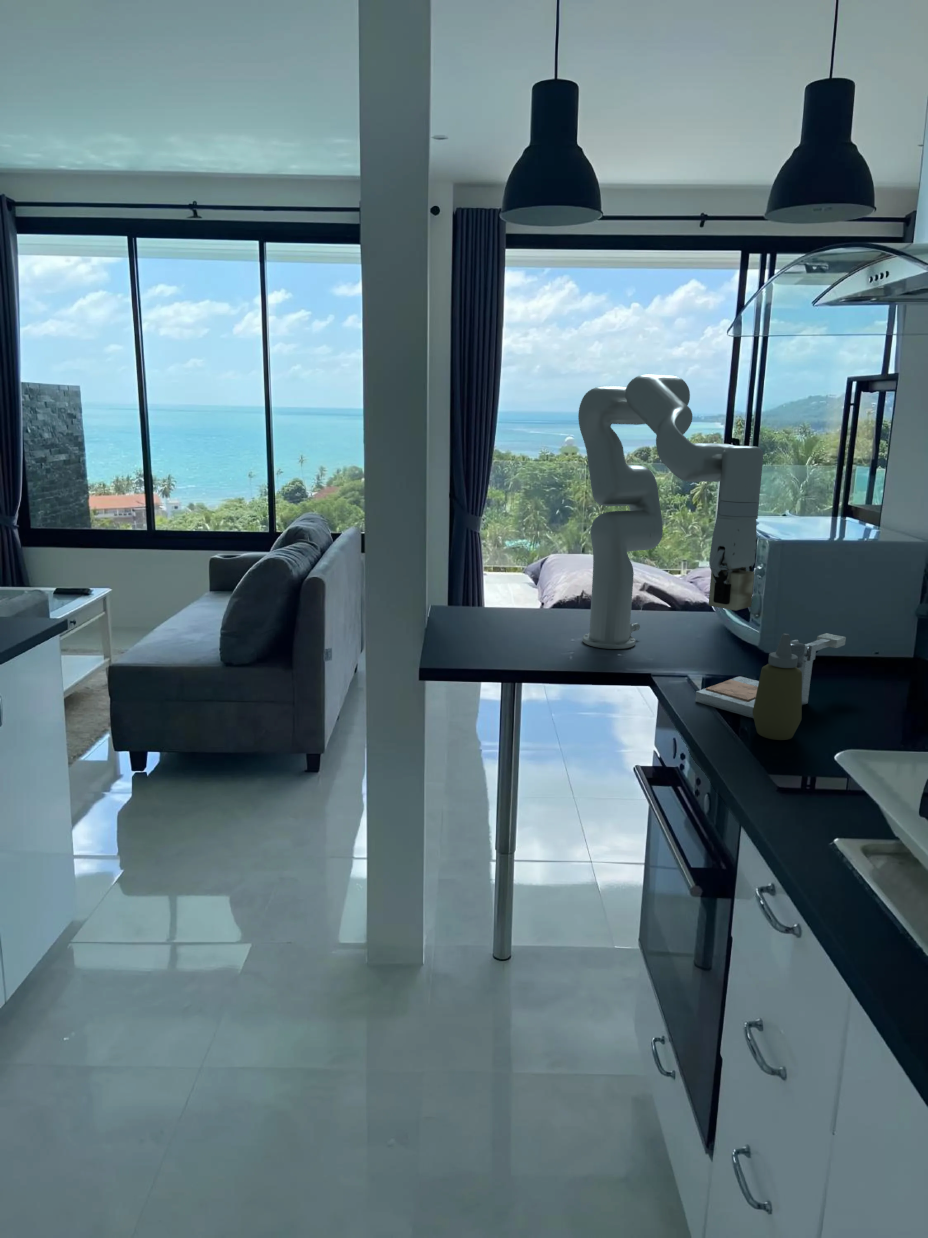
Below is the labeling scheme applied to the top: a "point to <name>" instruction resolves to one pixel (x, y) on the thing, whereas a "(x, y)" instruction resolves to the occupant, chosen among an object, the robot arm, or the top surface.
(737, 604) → the maple block
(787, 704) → the squeeze bottle
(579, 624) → the top surface
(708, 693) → the press
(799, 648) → the press lever
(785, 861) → the top surface
